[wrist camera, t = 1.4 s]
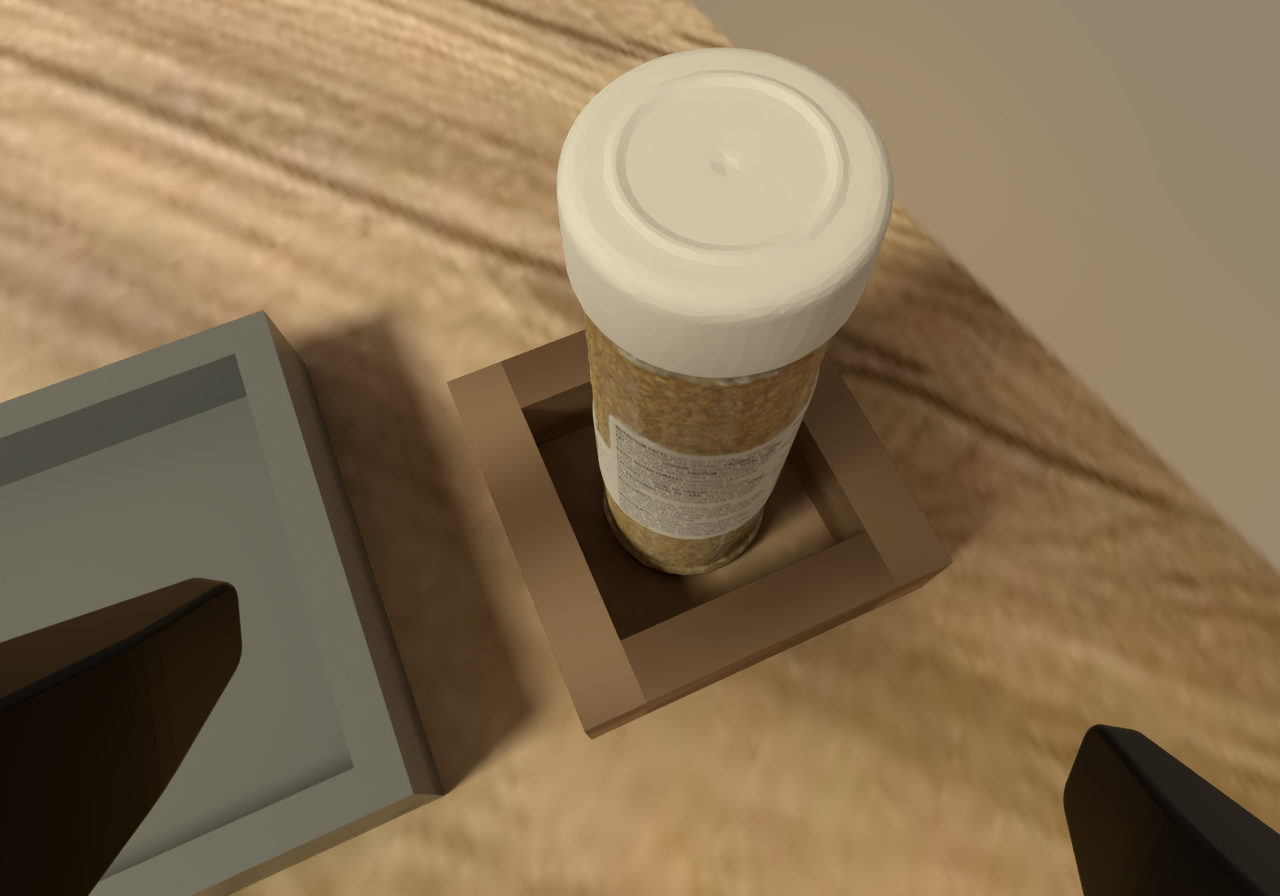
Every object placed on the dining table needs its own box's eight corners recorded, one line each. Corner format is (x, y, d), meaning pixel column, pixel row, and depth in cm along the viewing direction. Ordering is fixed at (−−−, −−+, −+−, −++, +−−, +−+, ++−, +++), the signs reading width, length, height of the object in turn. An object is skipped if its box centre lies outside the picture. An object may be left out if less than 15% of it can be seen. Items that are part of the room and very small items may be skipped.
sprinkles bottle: (638, 405, 25) (630, -3, 12) (787, 458, 24) (940, 83, 11) (576, 546, 23) (494, 240, 10) (734, 608, 22) (846, 357, 10)
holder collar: (921, 586, 22) (953, 562, 20) (591, 739, 21) (584, 730, 19) (759, 307, 26) (770, 258, 23) (465, 422, 24) (447, 382, 22)
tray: (444, 795, 20) (413, 793, 18) (-120, 1054, 18) (-254, 1098, 16) (305, 364, 25) (263, 309, 22) (-157, 534, 23) (-265, 497, 20)
